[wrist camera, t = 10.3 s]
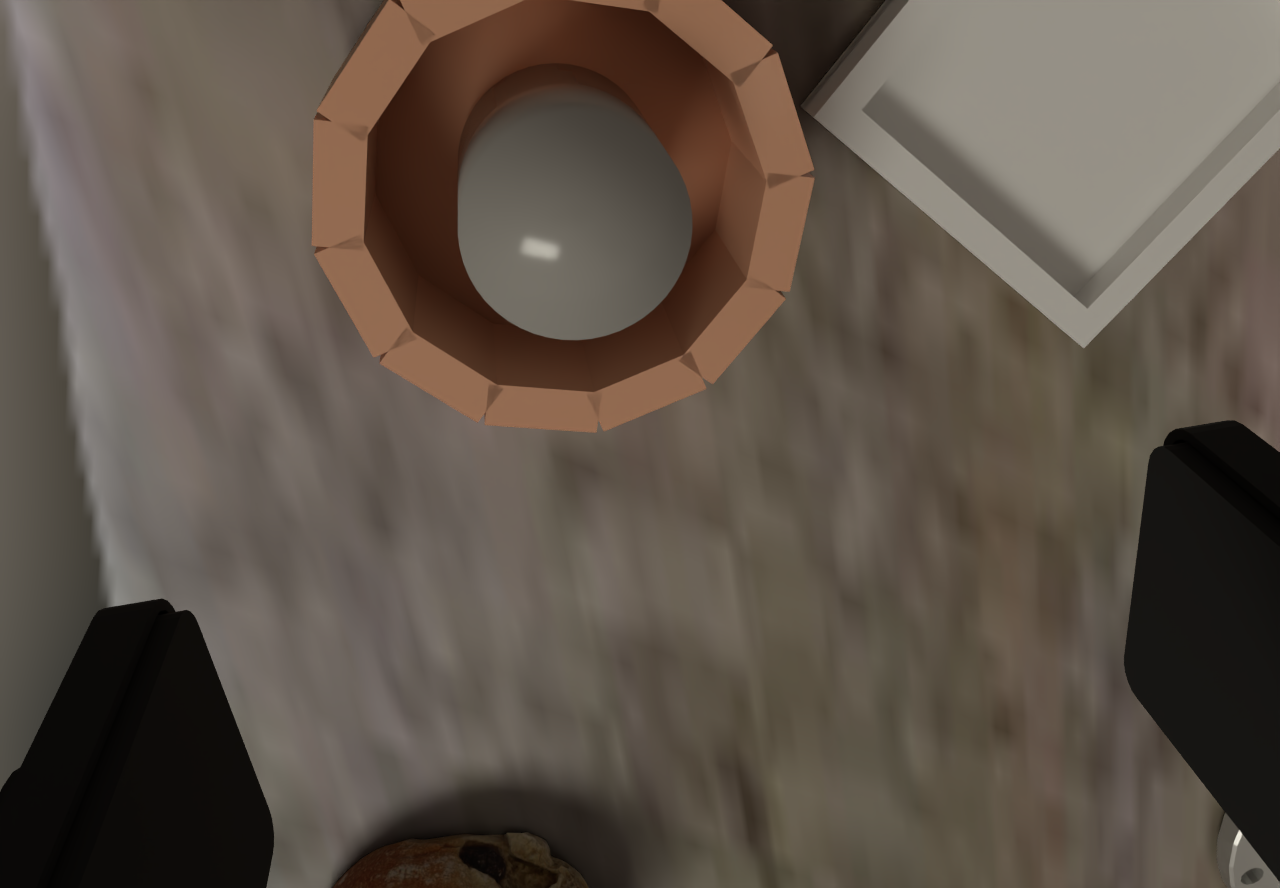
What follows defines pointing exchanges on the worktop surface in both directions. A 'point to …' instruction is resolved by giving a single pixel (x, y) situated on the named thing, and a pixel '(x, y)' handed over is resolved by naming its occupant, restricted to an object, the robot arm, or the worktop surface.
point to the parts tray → (1063, 131)
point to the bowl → (428, 199)
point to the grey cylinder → (568, 204)
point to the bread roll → (463, 864)
